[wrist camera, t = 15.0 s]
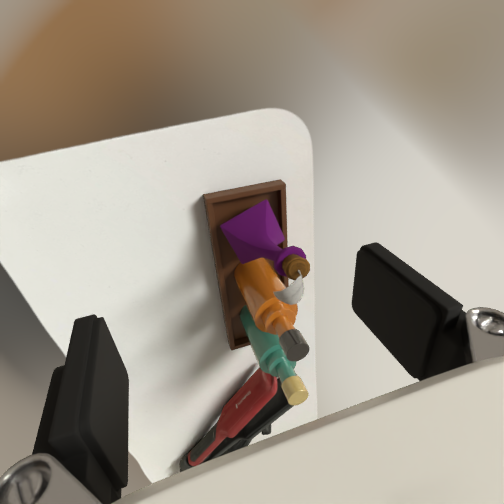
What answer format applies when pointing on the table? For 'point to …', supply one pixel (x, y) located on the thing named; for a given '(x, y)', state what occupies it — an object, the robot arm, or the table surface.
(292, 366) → the sea-green bottle
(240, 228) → the perfume bottle
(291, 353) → the amber bottle
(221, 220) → the tray
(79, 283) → the table surface
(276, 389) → the hair straightener
